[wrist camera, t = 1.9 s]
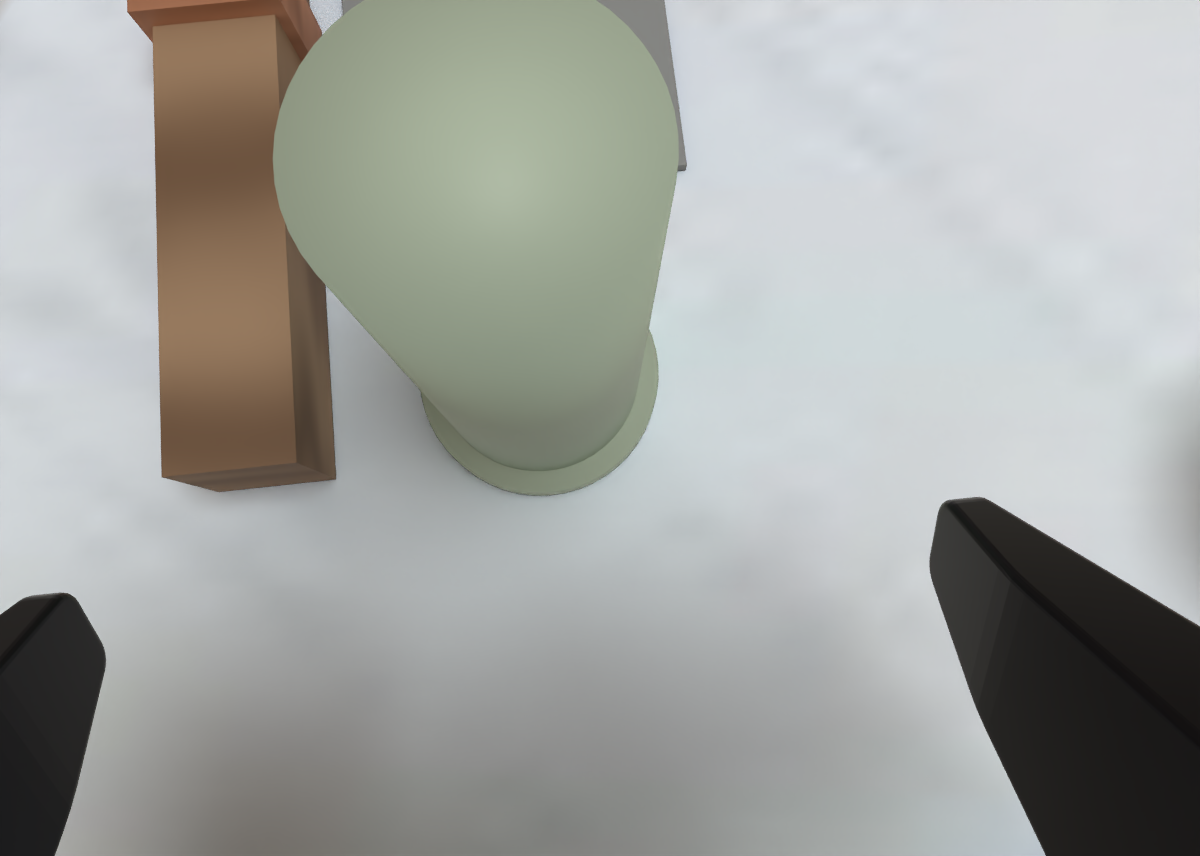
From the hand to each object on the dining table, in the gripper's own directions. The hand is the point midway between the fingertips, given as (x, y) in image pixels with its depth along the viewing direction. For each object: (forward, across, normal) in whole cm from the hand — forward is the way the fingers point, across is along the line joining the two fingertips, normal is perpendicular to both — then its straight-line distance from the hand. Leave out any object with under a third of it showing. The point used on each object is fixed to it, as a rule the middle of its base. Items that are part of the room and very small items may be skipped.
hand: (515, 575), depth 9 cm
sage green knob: (+13, 0, +6) cm, 14 cm away
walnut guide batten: (+17, +7, +2) cm, 18 cm away
